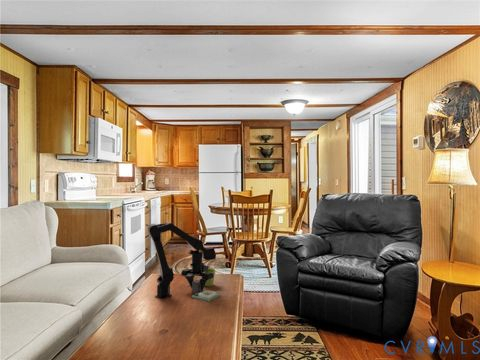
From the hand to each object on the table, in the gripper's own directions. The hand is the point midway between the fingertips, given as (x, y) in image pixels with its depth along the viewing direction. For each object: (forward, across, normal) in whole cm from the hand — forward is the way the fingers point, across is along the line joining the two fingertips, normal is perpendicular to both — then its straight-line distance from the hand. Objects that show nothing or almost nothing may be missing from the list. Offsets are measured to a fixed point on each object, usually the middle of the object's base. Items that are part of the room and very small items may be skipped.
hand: (197, 289), depth 195 cm
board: (+1, -9, +4) cm, 10 cm away
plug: (+1, 0, 0) cm, 1 cm away
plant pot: (+2, +2, -13) cm, 13 cm away
